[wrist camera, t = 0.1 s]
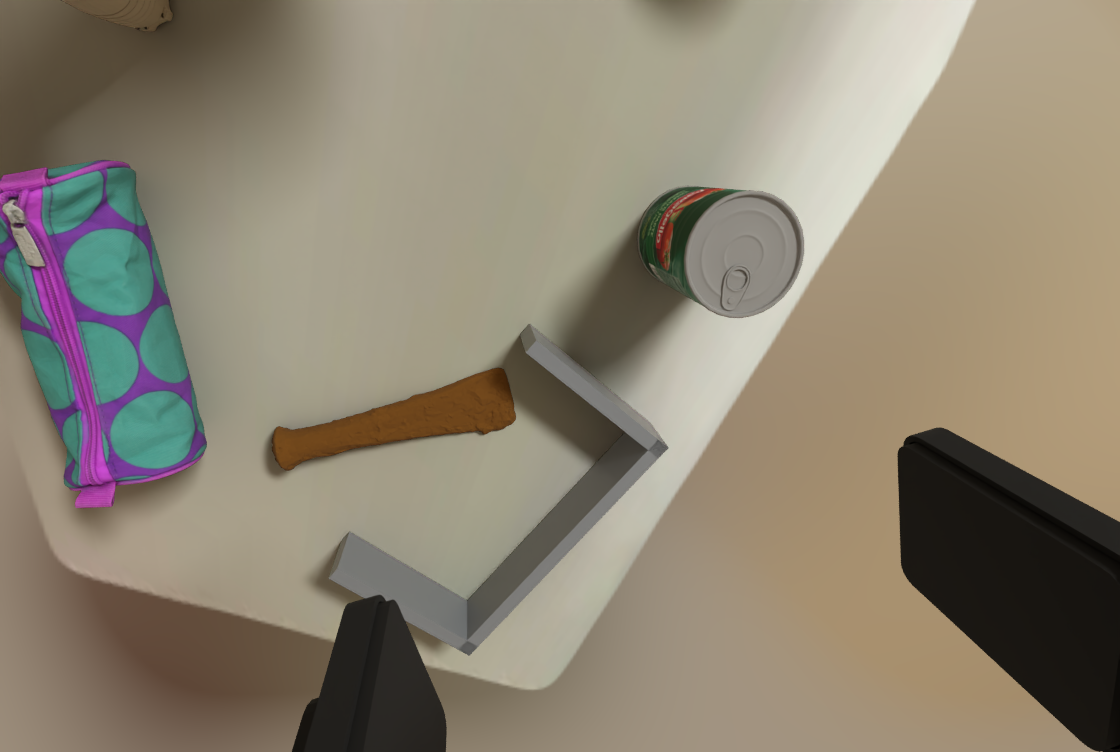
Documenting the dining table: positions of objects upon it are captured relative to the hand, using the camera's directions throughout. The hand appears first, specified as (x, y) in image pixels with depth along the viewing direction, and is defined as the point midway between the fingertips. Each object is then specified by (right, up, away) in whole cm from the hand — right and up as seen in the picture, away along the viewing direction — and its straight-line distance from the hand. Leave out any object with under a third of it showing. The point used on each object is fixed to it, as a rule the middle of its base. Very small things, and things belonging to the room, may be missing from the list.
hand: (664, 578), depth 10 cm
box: (-8, -6, +41) cm, 42 cm away
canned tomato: (+8, +15, +36) cm, 40 cm away
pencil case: (-33, +8, +32) cm, 47 cm away
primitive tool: (-15, +1, +38) cm, 41 cm away
